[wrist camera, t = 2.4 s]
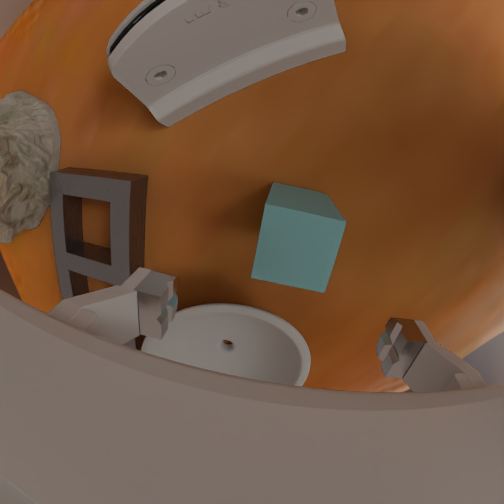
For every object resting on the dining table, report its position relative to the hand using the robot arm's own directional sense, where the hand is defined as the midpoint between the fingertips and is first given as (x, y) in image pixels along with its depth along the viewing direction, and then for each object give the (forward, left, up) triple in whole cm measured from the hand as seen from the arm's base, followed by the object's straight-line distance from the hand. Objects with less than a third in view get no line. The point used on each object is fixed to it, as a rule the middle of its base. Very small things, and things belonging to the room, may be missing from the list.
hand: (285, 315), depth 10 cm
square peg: (-1, 0, -14) cm, 14 cm away
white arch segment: (+7, -13, -14) cm, 21 cm away
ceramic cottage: (+32, -2, -14) cm, 35 cm away
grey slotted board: (+17, +12, -14) cm, 25 cm away
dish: (+3, +14, -14) cm, 20 cm away
